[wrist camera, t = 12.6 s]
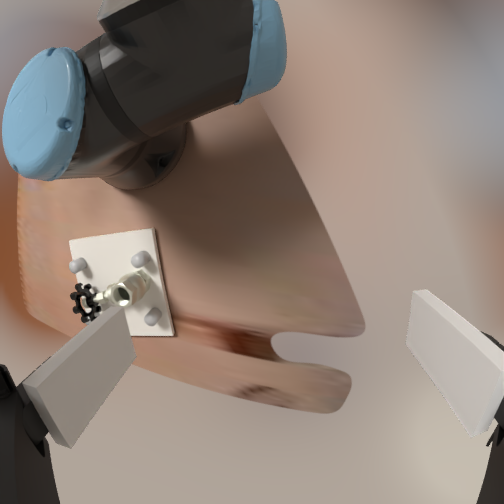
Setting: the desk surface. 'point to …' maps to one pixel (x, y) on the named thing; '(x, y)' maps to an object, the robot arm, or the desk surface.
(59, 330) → the desk surface
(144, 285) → the valve
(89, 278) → the mounting plate
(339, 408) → the desk surface
